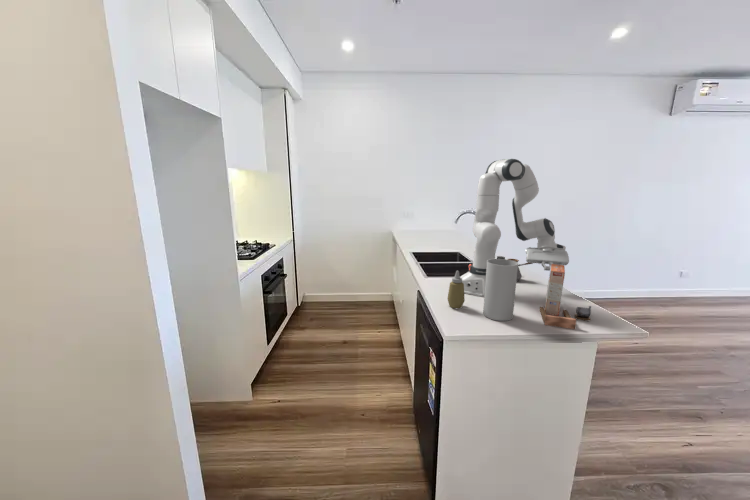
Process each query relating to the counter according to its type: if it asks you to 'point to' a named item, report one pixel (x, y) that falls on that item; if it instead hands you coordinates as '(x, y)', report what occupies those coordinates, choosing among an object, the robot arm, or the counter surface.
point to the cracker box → (554, 289)
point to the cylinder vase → (500, 289)
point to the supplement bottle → (500, 257)
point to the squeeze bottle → (456, 292)
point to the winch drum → (583, 313)
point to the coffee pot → (518, 268)
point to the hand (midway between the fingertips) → (547, 270)
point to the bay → (558, 319)
